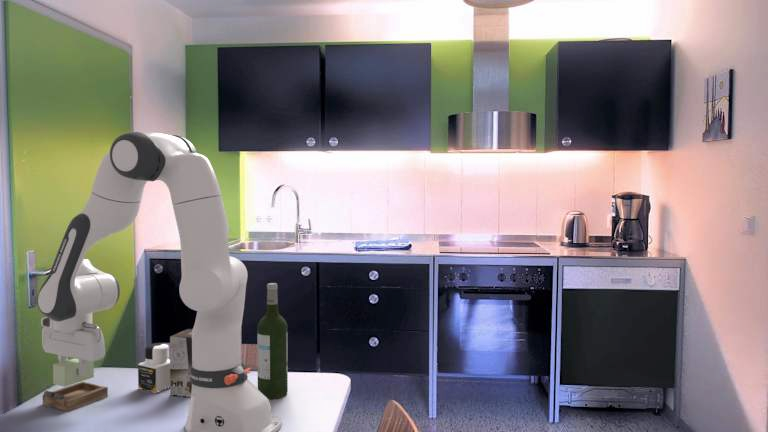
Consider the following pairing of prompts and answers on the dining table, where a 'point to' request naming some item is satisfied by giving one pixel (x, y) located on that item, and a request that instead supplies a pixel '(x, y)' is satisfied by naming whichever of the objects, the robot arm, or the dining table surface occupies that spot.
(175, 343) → the coffee box
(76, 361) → the pale green box
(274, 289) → the wine bottle
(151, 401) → the dining table surface
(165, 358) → the medicine bottle
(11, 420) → the dining table surface
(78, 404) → the wooden footed tray
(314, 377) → the dining table surface
